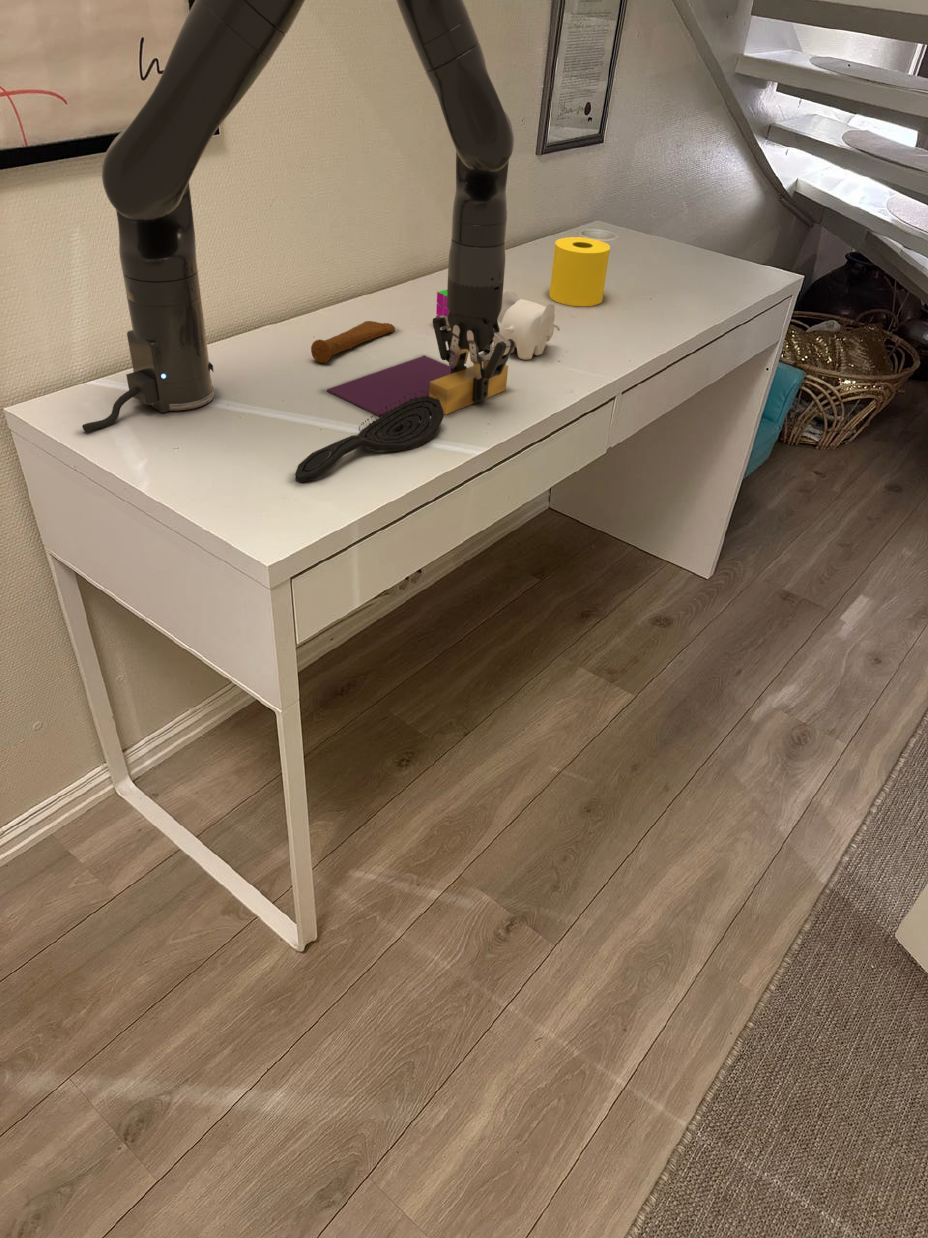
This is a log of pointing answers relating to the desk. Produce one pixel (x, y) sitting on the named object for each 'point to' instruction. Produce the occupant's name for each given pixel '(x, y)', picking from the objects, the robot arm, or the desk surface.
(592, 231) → the desk surface
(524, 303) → the elephant figurine
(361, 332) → the primitive tool
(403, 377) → the cloth
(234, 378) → the desk surface
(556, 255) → the yellow toilet paper roll
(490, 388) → the golden wooden block
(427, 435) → the hairbrush
